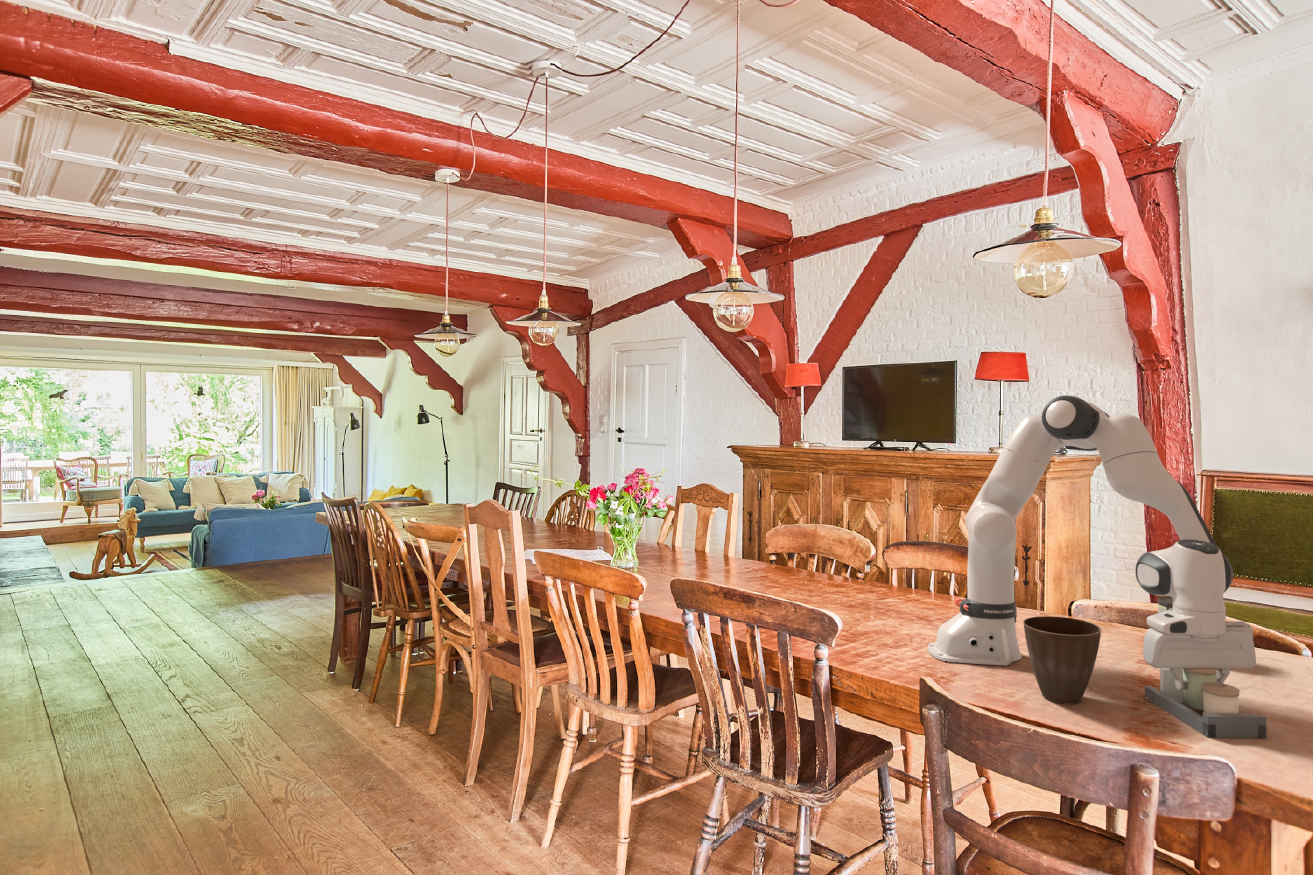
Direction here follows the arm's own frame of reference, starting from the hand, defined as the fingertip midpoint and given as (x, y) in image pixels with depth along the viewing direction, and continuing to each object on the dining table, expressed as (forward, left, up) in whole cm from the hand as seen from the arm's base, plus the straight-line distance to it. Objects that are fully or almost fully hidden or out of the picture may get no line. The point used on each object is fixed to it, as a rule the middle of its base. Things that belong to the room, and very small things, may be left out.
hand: (1199, 688), depth 155 cm
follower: (0, +8, -5) cm, 9 cm away
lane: (0, -2, -5) cm, 5 cm away
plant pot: (-23, +8, -5) cm, 25 cm away
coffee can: (+20, +39, -6) cm, 44 cm away
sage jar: (0, 0, -3) cm, 3 cm away
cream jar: (0, -7, -5) cm, 9 cm away
